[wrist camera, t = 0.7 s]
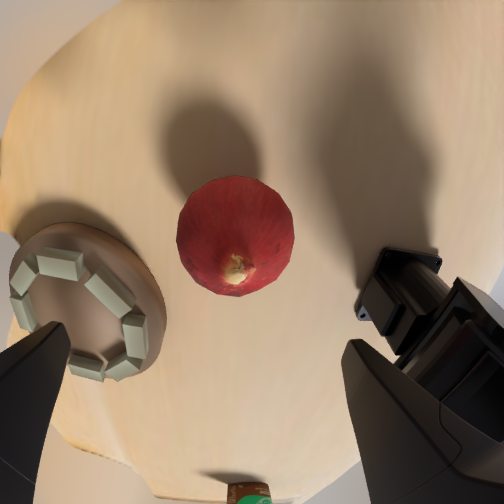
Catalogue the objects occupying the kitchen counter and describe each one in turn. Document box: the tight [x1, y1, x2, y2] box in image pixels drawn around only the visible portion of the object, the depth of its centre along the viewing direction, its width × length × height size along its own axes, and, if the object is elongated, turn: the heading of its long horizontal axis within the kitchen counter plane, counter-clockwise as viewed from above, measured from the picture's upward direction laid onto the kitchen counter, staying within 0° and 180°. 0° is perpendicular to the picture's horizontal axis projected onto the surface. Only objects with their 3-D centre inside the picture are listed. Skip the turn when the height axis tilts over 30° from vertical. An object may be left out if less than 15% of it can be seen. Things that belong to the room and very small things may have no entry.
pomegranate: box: [176, 176, 295, 297], centre depth 14 cm, size 6×6×8 cm
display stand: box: [9, 222, 167, 382], centre depth 18 cm, size 14×14×3 cm
